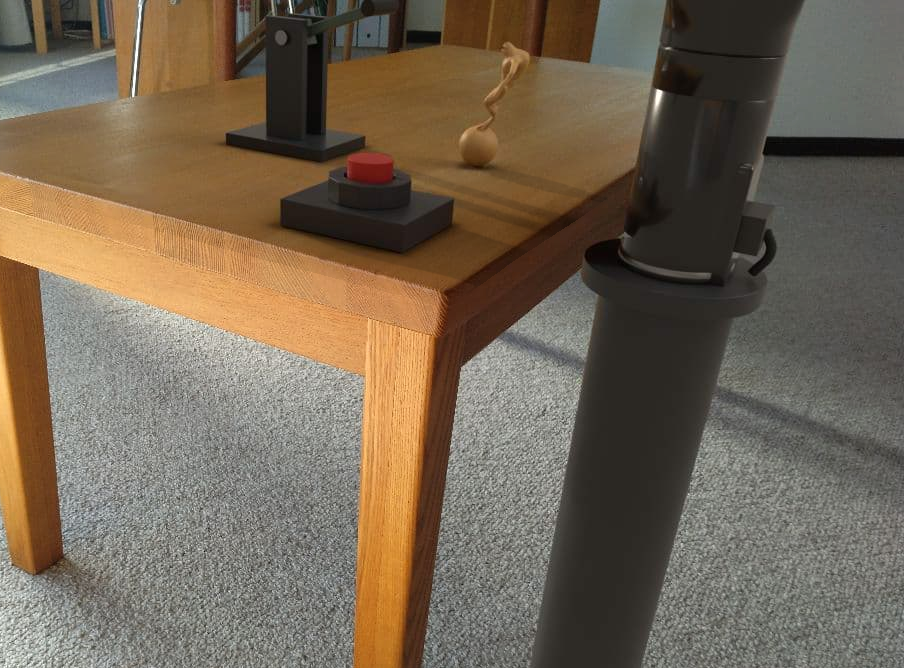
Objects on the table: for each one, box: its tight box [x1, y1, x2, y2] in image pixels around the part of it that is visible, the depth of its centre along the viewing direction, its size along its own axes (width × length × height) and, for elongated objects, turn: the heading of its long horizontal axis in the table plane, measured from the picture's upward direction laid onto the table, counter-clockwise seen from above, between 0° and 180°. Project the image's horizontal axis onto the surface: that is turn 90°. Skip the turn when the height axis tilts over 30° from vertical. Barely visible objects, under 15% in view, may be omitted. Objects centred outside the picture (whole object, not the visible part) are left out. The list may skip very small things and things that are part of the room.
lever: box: [307, 0, 400, 47], centre depth 88 cm, size 12×5×2 cm, turn 61°
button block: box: [279, 166, 455, 254], centre depth 71 cm, size 11×9×4 cm
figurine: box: [458, 41, 531, 167], centre depth 89 cm, size 8×6×12 cm
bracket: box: [225, 12, 366, 163], centre depth 93 cm, size 12×9×13 cm
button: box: [346, 152, 395, 183], centre depth 70 cm, size 4×4×2 cm
